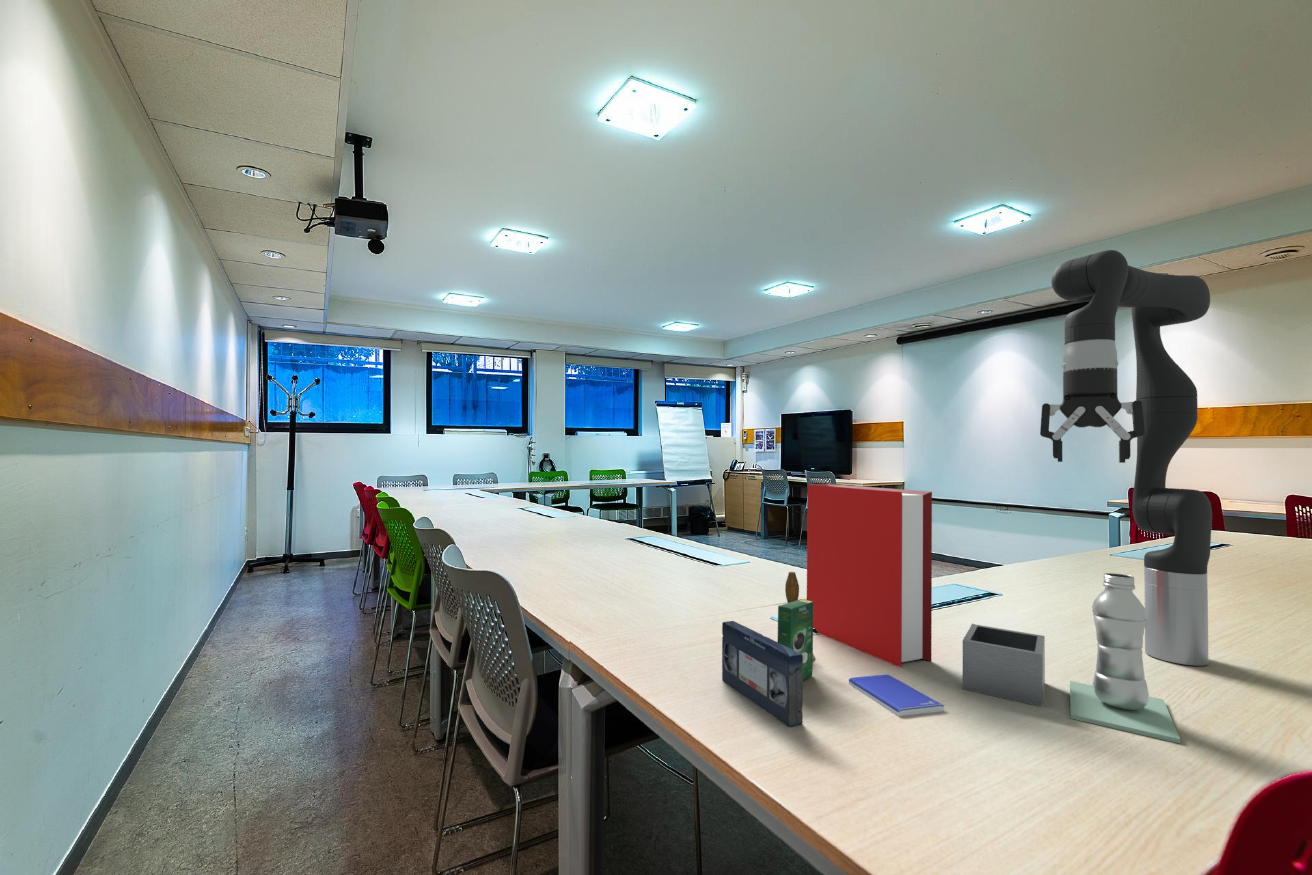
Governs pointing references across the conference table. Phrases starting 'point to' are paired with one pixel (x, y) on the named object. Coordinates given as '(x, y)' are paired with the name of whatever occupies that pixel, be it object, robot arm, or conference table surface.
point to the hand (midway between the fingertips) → (1090, 462)
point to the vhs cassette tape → (763, 672)
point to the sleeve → (1004, 664)
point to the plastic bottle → (1120, 644)
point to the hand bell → (792, 589)
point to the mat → (1122, 714)
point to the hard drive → (895, 695)
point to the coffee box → (797, 631)
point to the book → (871, 569)
